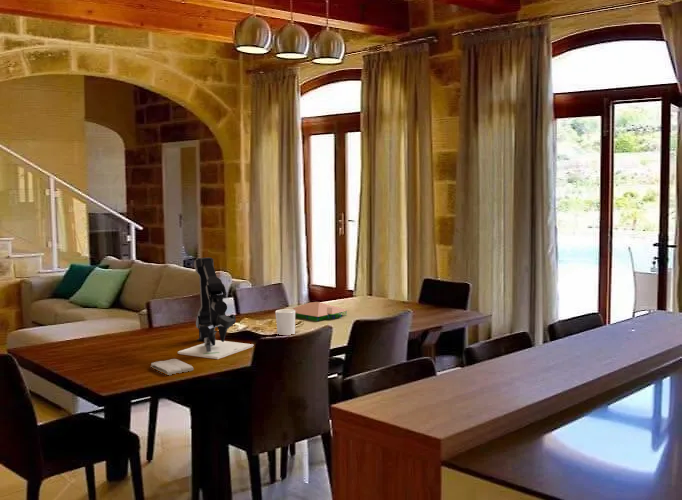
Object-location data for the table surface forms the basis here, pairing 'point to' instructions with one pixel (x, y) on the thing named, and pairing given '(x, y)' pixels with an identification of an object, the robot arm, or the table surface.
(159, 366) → the washcloth
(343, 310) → the house
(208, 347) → the tuner lever
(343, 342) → the table surface
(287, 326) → the candle holder
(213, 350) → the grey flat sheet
